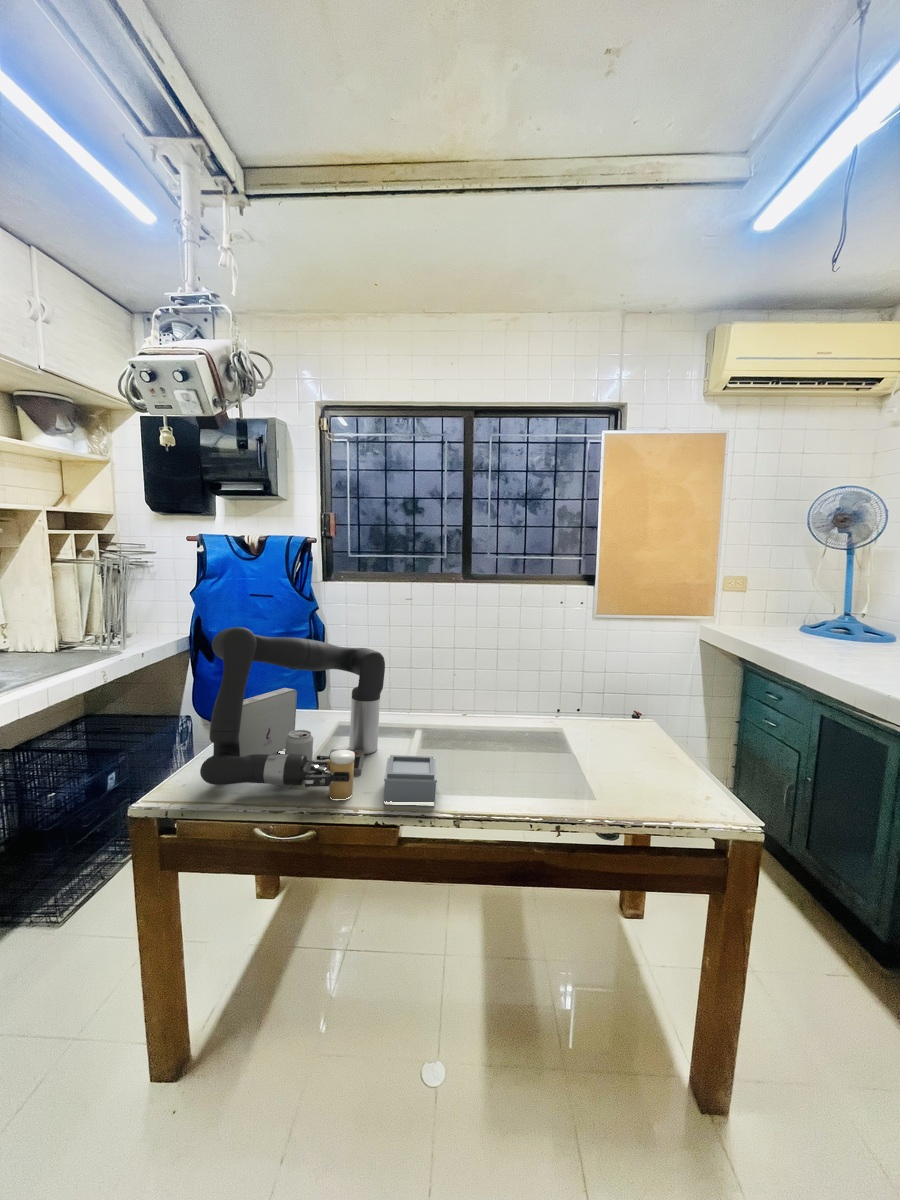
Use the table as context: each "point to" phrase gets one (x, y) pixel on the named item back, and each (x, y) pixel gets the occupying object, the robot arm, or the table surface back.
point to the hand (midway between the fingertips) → (351, 771)
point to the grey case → (410, 779)
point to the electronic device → (356, 760)
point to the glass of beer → (342, 763)
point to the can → (300, 743)
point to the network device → (267, 722)
